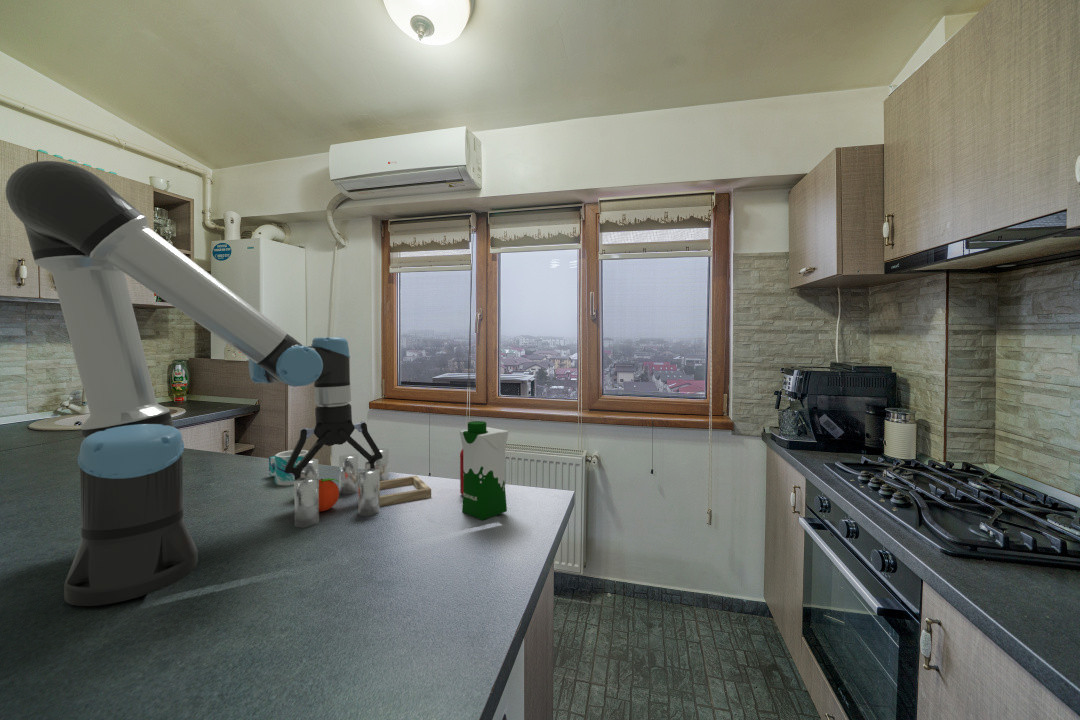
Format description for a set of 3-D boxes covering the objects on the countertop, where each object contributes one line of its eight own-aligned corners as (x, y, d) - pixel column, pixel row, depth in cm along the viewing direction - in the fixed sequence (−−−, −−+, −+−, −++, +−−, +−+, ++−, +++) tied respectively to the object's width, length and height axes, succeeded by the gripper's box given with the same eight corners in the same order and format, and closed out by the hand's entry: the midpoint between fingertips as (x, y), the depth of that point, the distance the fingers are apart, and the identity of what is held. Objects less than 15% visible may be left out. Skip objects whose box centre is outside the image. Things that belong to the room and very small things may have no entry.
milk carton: (456, 512, 94) (455, 421, 94) (487, 501, 101) (487, 417, 100) (481, 523, 88) (481, 426, 88) (513, 511, 95) (513, 421, 94)
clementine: (341, 502, 100) (341, 471, 100) (346, 511, 95) (346, 479, 95) (303, 508, 96) (302, 477, 96) (305, 518, 90) (305, 485, 90)
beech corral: (431, 497, 104) (431, 489, 104) (373, 507, 97) (373, 498, 97) (416, 483, 115) (416, 475, 115) (364, 491, 108) (364, 483, 108)
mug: (287, 490, 109) (287, 457, 109) (258, 484, 114) (258, 453, 114) (316, 481, 116) (316, 451, 116) (288, 476, 122) (287, 446, 122)
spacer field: (409, 508, 97) (409, 468, 96) (295, 529, 85) (294, 484, 85) (386, 480, 118) (386, 447, 117) (292, 494, 106) (292, 458, 106)
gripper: (386, 398, 108) (389, 481, 109) (269, 407, 95) (274, 501, 96) (392, 401, 102) (396, 489, 102) (268, 411, 89) (273, 512, 90)
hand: (337, 495), depth 99 cm, fingers open, 13 cm apart
